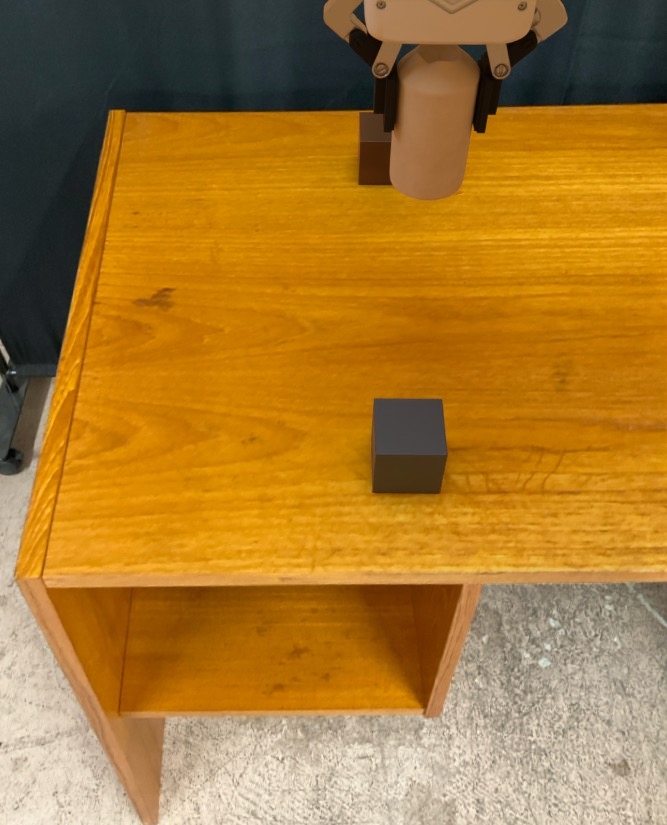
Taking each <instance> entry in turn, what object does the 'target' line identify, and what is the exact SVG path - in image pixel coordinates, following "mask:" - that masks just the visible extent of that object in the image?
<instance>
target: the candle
mask: <svg viewBox="0 0 667 825" xmlns="http://www.w3.org/2000/svg"><path fill="white" fill-rule="evenodd" d="M397 77H398V86H397V99H396V113H395V126H394V131H392V142H391V156H390V180H391V183H392V184H393V185H392V187H394V189H395V190H396V191H398V193H400V194H402V195H404V196H406V197H407V198H411V199H414V200H419V201H429V202H430V201H440V200H443V199H446V198H449V197H451V196H453V195H455V194H456V193H457V192H458V191H459V190H460V189H461V187H462V185H463V182H464V180H465V175H466V169H467V163H468V157H469V150H470V145H471V144H470V143H471V138H472V132H473V131H472V130H473V119H474V112H475V106H476V100H477V93H478V87H479V80H480V68H479V66H478V65H477V62H476V61H475V59H474V58H473V57H472V56H471V55H470V54H469V53H468V52H466V51H465V50H464V49H463V48H461V47H460V45H459V44H417V46H416V47H414V48H413V49H412V50H410V51H409V52H408V53H406V54H405V55H404V56H403V57H402V58H401V59H400V60H399V61H398V63H397Z"/></svg>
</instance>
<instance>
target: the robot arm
mask: <svg viewBox="0 0 667 825" xmlns="http://www.w3.org/2000/svg"><path fill="white" fill-rule="evenodd" d="M362 3H363V13H364V20H361V19H359V18H358V17H357V15H355V13H354V12H355V10H356V9H357V8H358V7H359V6H361V4H362ZM322 18H323V22H324V24H325V25H326V26H328V27H329V28H330V29H331V30H332V31H333V32H334V33H335V34H336V35H338V37H340V38H341V39H342V40H344V41H346V42H347V43H348V45H349V47H350V48H351V50H352V51H353V52H354V53H355V54H356V55H357V56H358V57H359V58H360V59H361V60H362V61H363V62H364V63H365V64H366V65H368V67H369V68H370V69H371V72H372V74H373V76H374V77H373V78H374V81H373V100H372V102H373V105H372V106H373V107H372V108H373V109H372V112H374V114H383V130H384V133H391V131H394V126H395V113H396V99H397V86H398V77H397V65H398V63H397V58H398V56H399V54H400V51H401V49H402V47H403V45H420V44H457V45H473V46H474V45H476V46H477V45H479V46H481V45H485V47H486V51H484V52H483V54H480V59H477V62H476V63H477V65H478V66H479V68H480V80H479V87H478V93H477V100H476V106H475V112H474V119H473V125H472V129H473V132H476V134H486V130H487V125H488V124H487V123H488V118H489V116H496V115H497V112H498V107H499V102H500V95H501V90H502V84H503V79H506V78H507V77H508V76H509V75H510V73H511V71H512V68H513V67H514V66H515V65H517V64H518V63H519V62H520V61H522V60H523V59H524V58H526V57H527V56H528V55H529V54H531V53H532V52H533V51H534V50H535V49H536V48H537V47H538V44H539V43H541V42H544V41H545V40H547V39H548V38H549V37H551V36H552V35H554V34H555V33H556V32H558V31H559V30H560V29H562V28H563V27H564V26H566V24H567V23H568V19H569V18H568V14H567V11H566V8H565V6H564V3H563V2H562V1H561V0H327V1H326V2H325V4H324V5H323V17H322Z"/></svg>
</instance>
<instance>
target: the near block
mask: <svg viewBox="0 0 667 825" xmlns="http://www.w3.org/2000/svg"><path fill="white" fill-rule="evenodd" d="M443 401H444V400H443V398H401V397H400V398H399V397H398V398H397V397H395V398H393V397H392V398H390V397H389V398H388V397H387V398H386V397H385V398H382V397H379V398H378V397H374V398H373V401H372V402H373V404H372V418H371V431H370V432H371V433H370V446H371V447H370V452H371V453H370V454H371V458H370V459H371V460H370V461H371V491H372V493H376V494H377V493H385V494H386V493H387V494H389V493H391V494H392V493H393V494H403V493H404V494H440V493H441V489H442V485H443V484H442V483H443V479H444V475H445V470H446V465H447V460H448V456H449V455H448V443H447V434H446V422H445V412H444V402H443Z"/></svg>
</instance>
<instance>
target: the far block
mask: <svg viewBox="0 0 667 825" xmlns="http://www.w3.org/2000/svg"><path fill="white" fill-rule="evenodd" d="M358 118H359V119H358V140H357V141H358V144H357V173H358V174H357V175H358V178H357V182H358V185H367V186H368V185H371V186H372V185H373V186H375V185H377V186H378V185H379V186H380V185H382V186H383V185H385V186H387V185H389V186H393V184H392V183H391V180H390V156H391V142H392V131H391V133H384V130H383V114H374V111H359V114H358Z"/></svg>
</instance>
